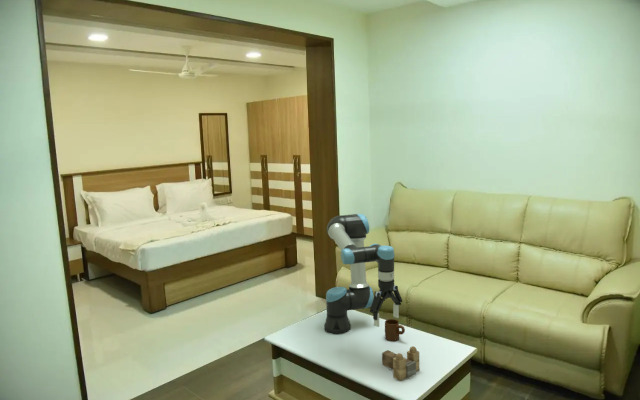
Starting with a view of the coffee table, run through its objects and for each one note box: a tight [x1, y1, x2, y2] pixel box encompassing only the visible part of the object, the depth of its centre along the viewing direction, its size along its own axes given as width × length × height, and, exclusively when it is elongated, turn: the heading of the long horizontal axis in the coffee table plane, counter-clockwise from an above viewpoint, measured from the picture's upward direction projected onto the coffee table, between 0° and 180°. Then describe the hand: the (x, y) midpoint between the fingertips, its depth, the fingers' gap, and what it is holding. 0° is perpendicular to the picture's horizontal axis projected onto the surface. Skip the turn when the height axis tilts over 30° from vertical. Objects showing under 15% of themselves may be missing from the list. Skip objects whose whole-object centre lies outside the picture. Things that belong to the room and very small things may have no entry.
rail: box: [381, 350, 412, 370], centre depth 206 cm, size 15×4×6 cm, turn 39°
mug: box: [384, 318, 406, 342], centre depth 235 cm, size 12×8×9 cm, turn 43°
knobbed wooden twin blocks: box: [392, 345, 420, 382], centre depth 201 cm, size 5×14×11 cm, turn 129°
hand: (386, 321), depth 211 cm, fingers open, 13 cm apart
